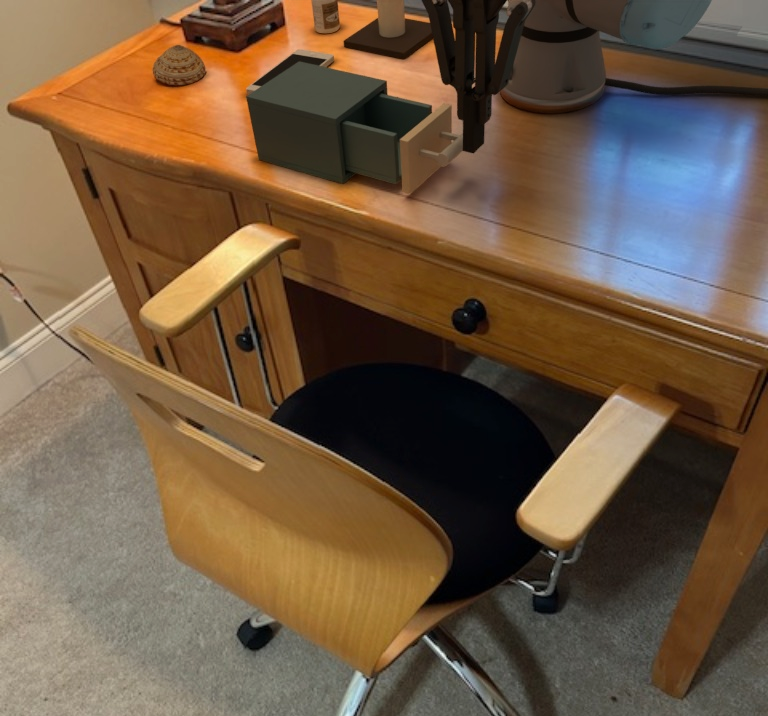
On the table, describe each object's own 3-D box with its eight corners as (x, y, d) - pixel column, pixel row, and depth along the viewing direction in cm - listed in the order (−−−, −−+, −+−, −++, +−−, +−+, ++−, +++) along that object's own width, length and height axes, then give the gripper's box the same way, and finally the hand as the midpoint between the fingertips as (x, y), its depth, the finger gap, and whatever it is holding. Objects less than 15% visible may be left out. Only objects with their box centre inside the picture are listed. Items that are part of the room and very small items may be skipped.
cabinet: (391, 145, 110) (386, 80, 104) (343, 184, 105) (335, 119, 98) (308, 123, 116) (299, 61, 109) (258, 159, 110) (245, 96, 104)
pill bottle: (330, 36, 135) (324, -16, 129) (310, 31, 137) (303, -20, 131) (345, 26, 137) (340, -25, 131) (324, 22, 139) (318, -29, 133)
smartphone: (335, 60, 129) (334, 53, 128) (284, 101, 121) (282, 95, 120) (298, 54, 131) (297, 48, 130) (245, 94, 123) (244, 88, 122)
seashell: (178, 44, 132) (200, 34, 126) (194, 80, 135) (216, 72, 129) (137, 61, 128) (158, 52, 123) (155, 98, 131) (175, 90, 126)
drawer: (480, 164, 104) (481, 111, 98) (439, 202, 99) (438, 149, 93) (368, 135, 111) (364, 84, 105) (325, 170, 106) (318, 118, 100)
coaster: (442, 31, 133) (442, 24, 132) (404, 59, 127) (403, 52, 126) (383, 20, 138) (383, 14, 137) (343, 47, 132) (343, 40, 131)
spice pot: (410, 29, 132) (407, -36, 125) (396, 39, 130) (392, -27, 123) (388, 25, 134) (384, -40, 126) (374, 35, 132) (369, -30, 124)
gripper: (555, -92, 77) (535, 144, 96) (440, -105, 82) (442, 123, 101) (520, -68, 74) (506, 173, 92) (402, -82, 79) (411, 149, 97)
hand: (473, 147), depth 96 cm, fingers closed
